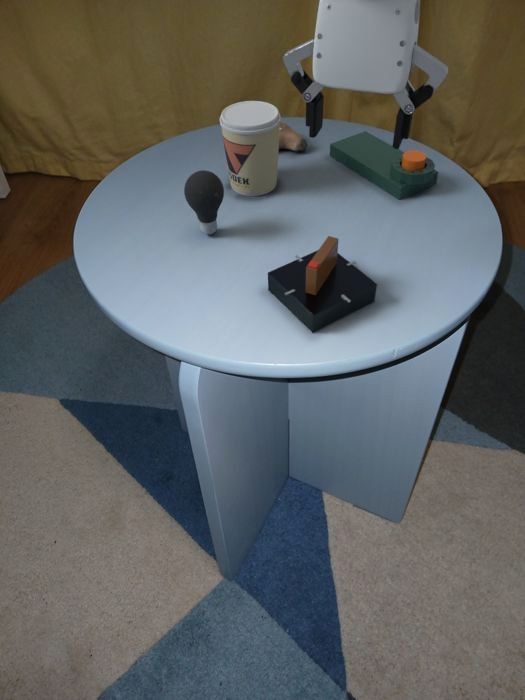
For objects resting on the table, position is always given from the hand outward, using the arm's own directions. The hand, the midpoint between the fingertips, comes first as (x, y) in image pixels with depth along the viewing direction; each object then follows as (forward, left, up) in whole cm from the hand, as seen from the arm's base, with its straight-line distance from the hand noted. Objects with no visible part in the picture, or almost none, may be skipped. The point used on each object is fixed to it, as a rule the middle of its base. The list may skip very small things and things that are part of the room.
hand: (356, 137), depth 64 cm
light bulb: (+18, +12, -19) cm, 28 cm away
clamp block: (-3, +7, -18) cm, 20 cm away
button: (+10, -21, -15) cm, 28 cm away
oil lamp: (+34, -12, -19) cm, 41 cm away
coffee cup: (+26, -1, -19) cm, 32 cm away
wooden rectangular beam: (-3, +7, -15) cm, 17 cm away
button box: (+17, -21, -18) cm, 33 cm away
